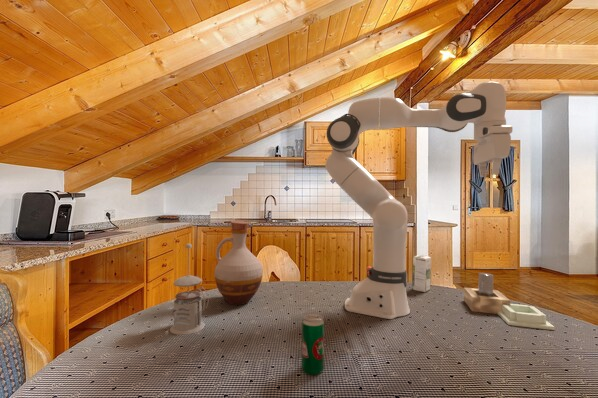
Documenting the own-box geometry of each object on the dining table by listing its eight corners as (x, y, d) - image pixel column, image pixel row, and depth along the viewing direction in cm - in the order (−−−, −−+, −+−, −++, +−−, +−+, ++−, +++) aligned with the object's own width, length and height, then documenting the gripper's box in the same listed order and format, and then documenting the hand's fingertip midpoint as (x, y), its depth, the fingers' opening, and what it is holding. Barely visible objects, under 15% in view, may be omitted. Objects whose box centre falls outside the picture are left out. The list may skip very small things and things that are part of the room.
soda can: (300, 363, 69) (301, 312, 69) (321, 363, 69) (322, 312, 69) (302, 376, 64) (303, 321, 64) (325, 376, 64) (326, 321, 64)
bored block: (472, 311, 103) (472, 296, 103) (463, 300, 114) (463, 287, 114) (510, 315, 100) (510, 300, 100) (497, 303, 111) (497, 290, 111)
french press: (185, 318, 94) (186, 240, 94) (216, 324, 90) (217, 242, 90) (162, 331, 85) (163, 244, 85) (195, 338, 81) (196, 247, 81)
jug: (199, 304, 106) (200, 221, 106) (229, 290, 123) (230, 218, 123) (245, 313, 99) (246, 224, 99) (270, 297, 115) (271, 220, 115)
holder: (508, 324, 92) (508, 313, 92) (494, 310, 104) (494, 301, 104) (554, 330, 89) (554, 318, 89) (534, 315, 100) (535, 304, 100)
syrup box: (417, 286, 131) (417, 254, 131) (431, 289, 127) (431, 256, 127) (412, 289, 127) (412, 256, 127) (425, 292, 123) (426, 258, 123)
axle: (480, 308, 105) (480, 275, 105) (476, 304, 110) (477, 272, 110) (494, 310, 104) (495, 276, 104) (490, 305, 109) (490, 273, 109)
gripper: (468, 139, 107) (467, 177, 107) (491, 126, 87) (490, 173, 87) (487, 139, 105) (487, 177, 105) (515, 125, 85) (514, 172, 85)
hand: (489, 175), depth 96 cm, fingers open, 8 cm apart
